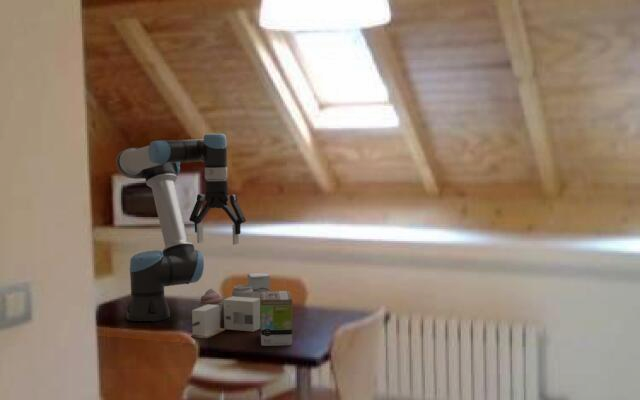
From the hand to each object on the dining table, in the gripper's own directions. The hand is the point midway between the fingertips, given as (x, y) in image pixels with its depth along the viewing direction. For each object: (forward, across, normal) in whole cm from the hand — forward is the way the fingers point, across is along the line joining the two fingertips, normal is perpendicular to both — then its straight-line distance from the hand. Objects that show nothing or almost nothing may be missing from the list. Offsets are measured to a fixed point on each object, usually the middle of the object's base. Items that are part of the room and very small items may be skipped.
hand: (217, 243), depth 306 cm
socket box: (+29, +8, +1) cm, 30 cm away
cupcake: (+29, -12, +15) cm, 35 cm away
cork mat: (+29, 0, -9) cm, 30 cm away
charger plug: (+28, 0, -9) cm, 30 cm away
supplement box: (+29, -2, +33) cm, 44 cm away
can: (+29, +2, +13) cm, 32 cm away
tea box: (+29, +26, -10) cm, 40 cm away
